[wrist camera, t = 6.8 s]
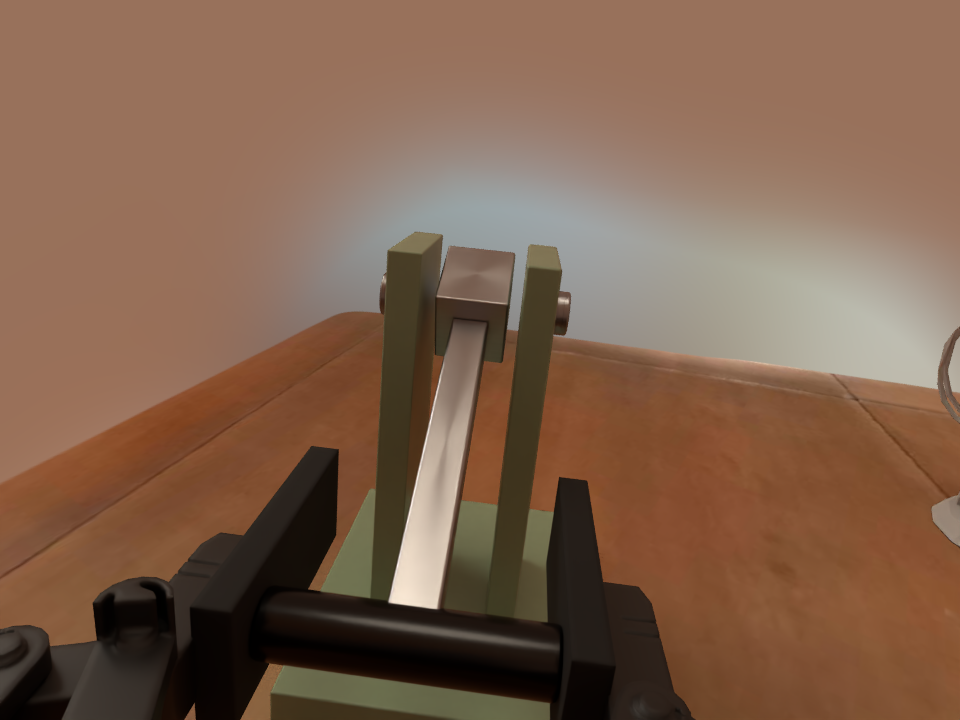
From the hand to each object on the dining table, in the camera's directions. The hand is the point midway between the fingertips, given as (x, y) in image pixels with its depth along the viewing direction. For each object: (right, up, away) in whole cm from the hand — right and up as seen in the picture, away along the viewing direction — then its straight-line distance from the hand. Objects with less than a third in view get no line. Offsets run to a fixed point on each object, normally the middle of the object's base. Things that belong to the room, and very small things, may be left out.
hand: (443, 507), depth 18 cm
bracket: (0, -5, +7) cm, 9 cm away
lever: (0, +2, 0) cm, 2 cm away
